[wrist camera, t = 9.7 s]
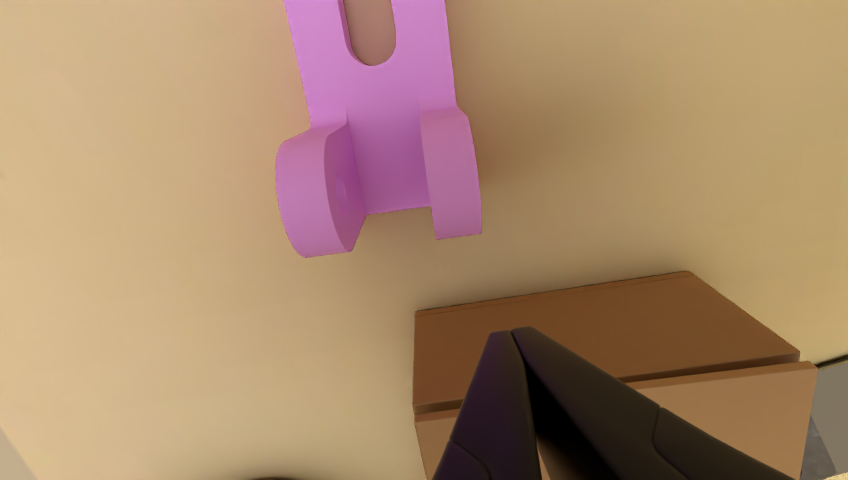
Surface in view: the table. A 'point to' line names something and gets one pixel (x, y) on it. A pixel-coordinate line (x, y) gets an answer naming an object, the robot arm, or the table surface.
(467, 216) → the bracket
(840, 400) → the smartphone
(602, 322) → the carton
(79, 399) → the table surface
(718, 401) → the flap
